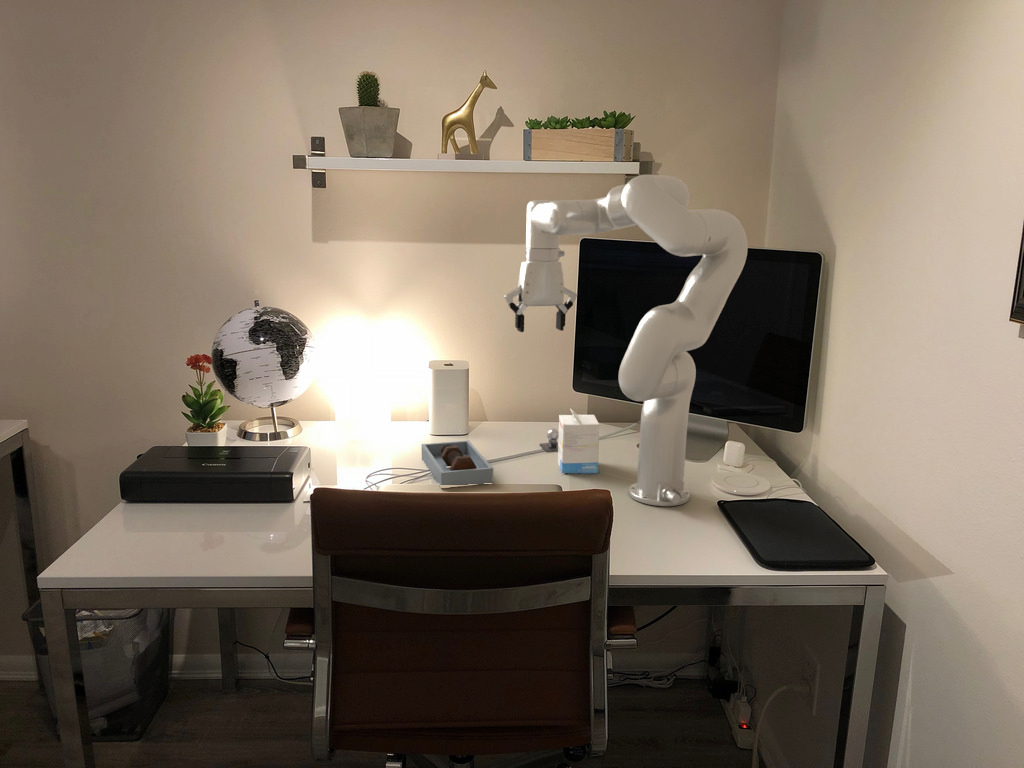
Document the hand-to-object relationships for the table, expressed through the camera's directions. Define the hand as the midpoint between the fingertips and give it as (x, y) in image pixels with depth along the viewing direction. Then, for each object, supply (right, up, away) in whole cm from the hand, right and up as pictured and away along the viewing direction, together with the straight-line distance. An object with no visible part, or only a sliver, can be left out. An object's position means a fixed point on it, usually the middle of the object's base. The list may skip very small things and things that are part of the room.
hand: (540, 330), depth 192 cm
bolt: (-19, -32, -6) cm, 37 cm away
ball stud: (+3, -28, +12) cm, 31 cm away
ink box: (+9, -32, -1) cm, 33 cm away
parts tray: (-19, -32, -5) cm, 38 cm away
